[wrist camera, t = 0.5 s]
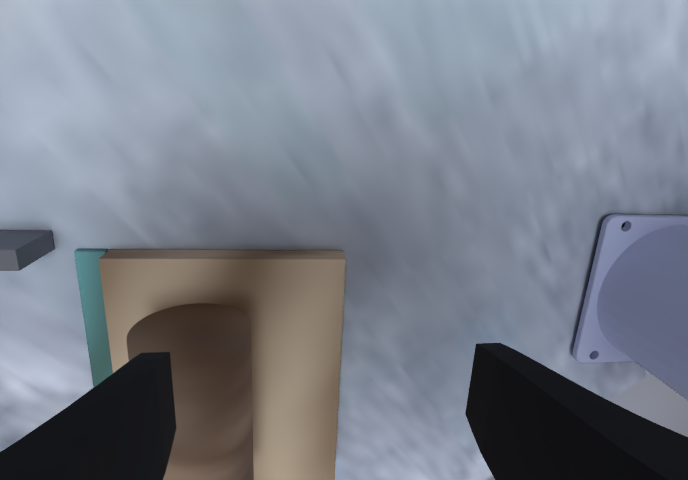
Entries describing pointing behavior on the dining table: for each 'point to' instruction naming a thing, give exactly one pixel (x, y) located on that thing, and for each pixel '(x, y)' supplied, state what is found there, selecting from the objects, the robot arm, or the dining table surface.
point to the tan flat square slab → (266, 334)
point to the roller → (205, 387)
